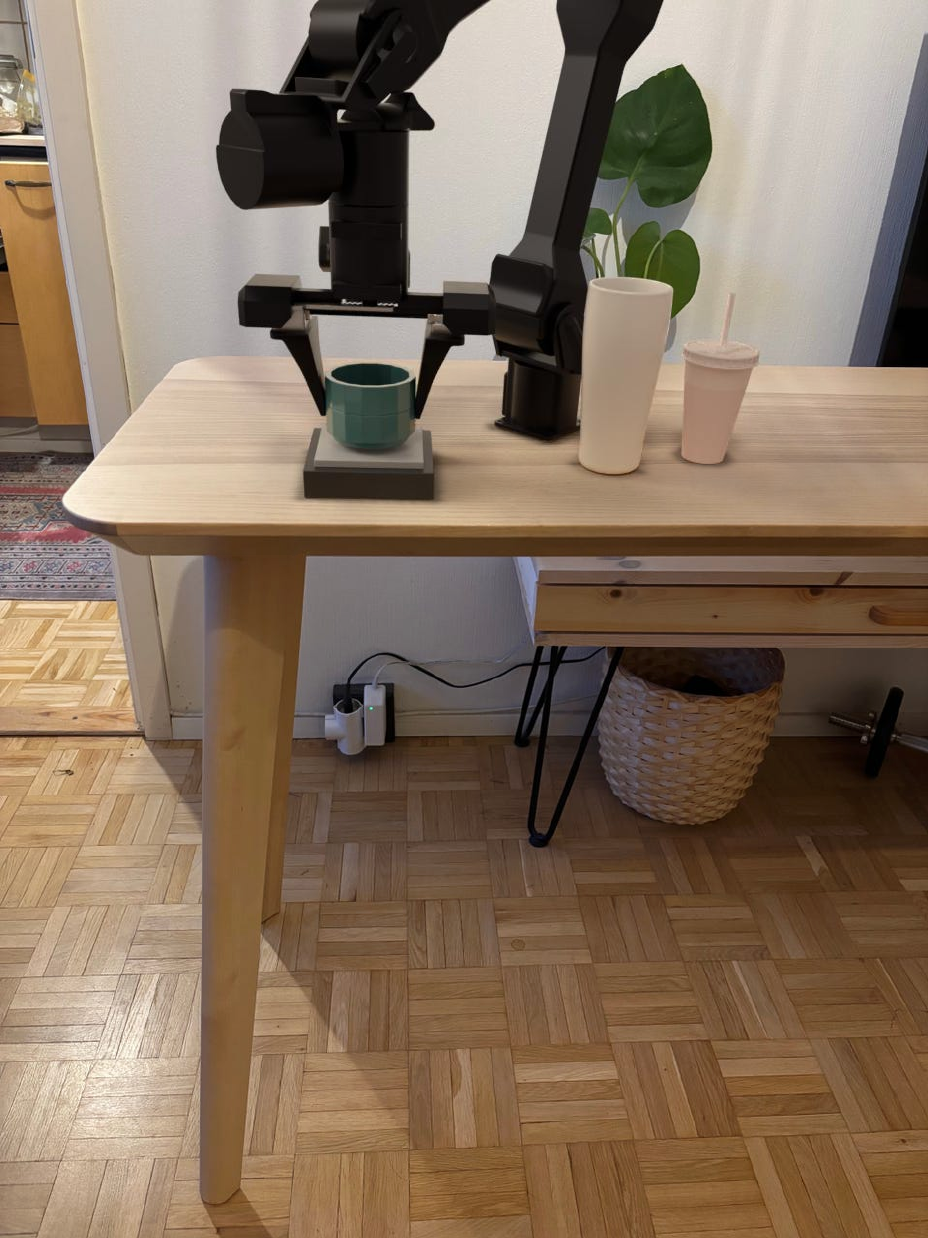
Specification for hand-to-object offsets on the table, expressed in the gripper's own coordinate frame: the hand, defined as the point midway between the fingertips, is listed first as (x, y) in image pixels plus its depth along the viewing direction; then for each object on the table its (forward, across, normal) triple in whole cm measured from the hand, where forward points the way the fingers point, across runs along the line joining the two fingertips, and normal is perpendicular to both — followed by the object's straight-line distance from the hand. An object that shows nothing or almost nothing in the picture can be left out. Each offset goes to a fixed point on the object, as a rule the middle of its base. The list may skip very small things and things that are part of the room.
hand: (371, 416), depth 73 cm
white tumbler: (+5, -20, -4) cm, 21 cm away
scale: (+5, 0, 0) cm, 5 cm away
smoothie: (+5, -29, -7) cm, 30 cm away
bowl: (+2, 0, 0) cm, 2 cm away
